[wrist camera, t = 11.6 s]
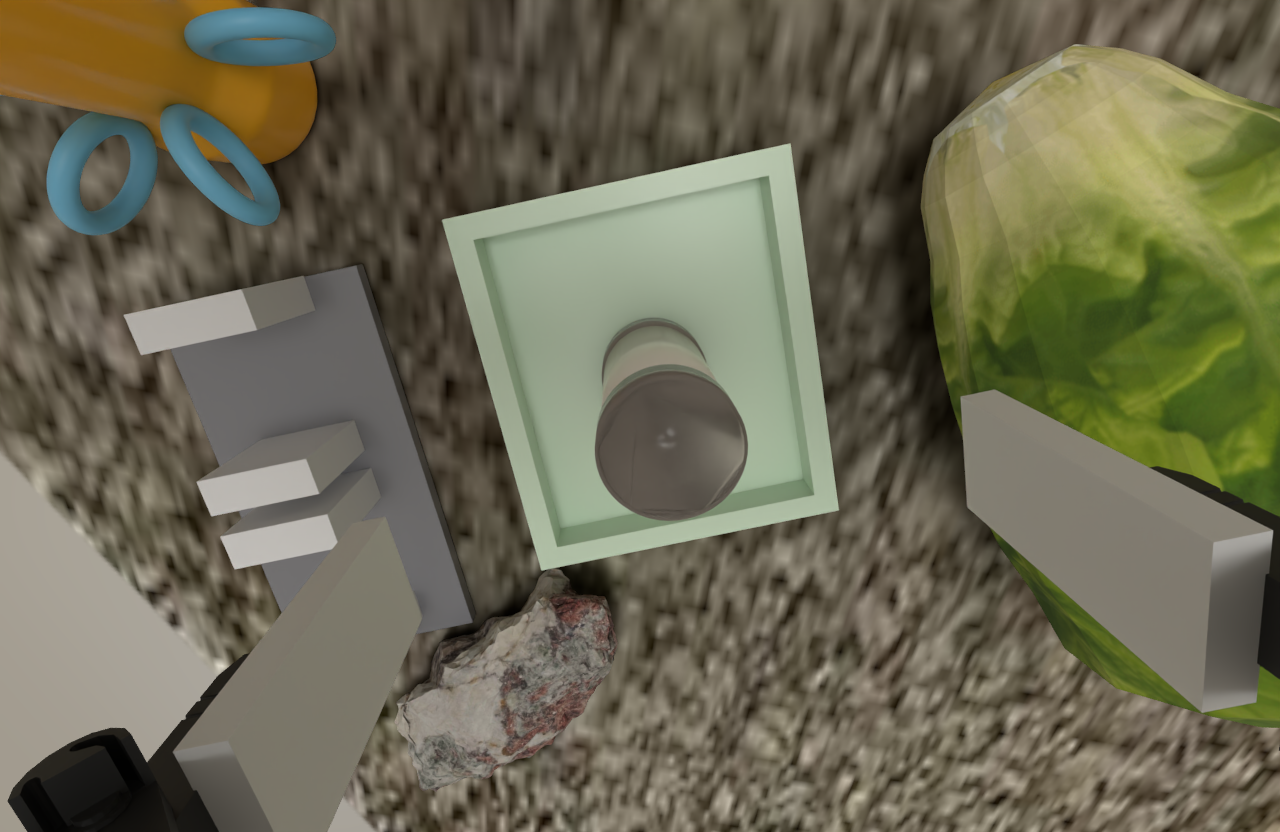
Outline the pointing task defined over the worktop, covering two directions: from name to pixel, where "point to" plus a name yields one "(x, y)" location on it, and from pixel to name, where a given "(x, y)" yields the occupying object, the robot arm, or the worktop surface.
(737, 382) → the tray
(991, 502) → the robot arm
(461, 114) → the worktop surface
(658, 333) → the cylinder
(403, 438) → the panel
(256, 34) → the orange and blue piece
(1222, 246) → the lettuce
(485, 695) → the mineral rock
